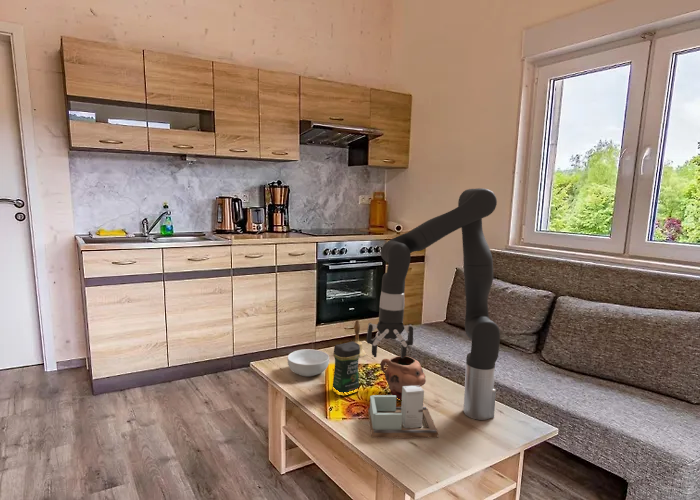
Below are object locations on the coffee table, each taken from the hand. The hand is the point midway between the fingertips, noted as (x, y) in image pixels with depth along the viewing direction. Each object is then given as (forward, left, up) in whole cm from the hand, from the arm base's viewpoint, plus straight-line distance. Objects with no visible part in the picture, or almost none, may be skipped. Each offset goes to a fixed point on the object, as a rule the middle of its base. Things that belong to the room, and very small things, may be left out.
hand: (388, 356), depth 134 cm
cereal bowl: (+27, -40, -23) cm, 54 cm away
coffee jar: (+12, -23, -23) cm, 35 cm away
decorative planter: (-8, -20, -23) cm, 31 cm away
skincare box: (-8, 0, -23) cm, 24 cm away
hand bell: (+6, -61, -23) cm, 66 cm away
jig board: (-5, 0, -23) cm, 23 cm away
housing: (+1, 0, -21) cm, 21 cm away
